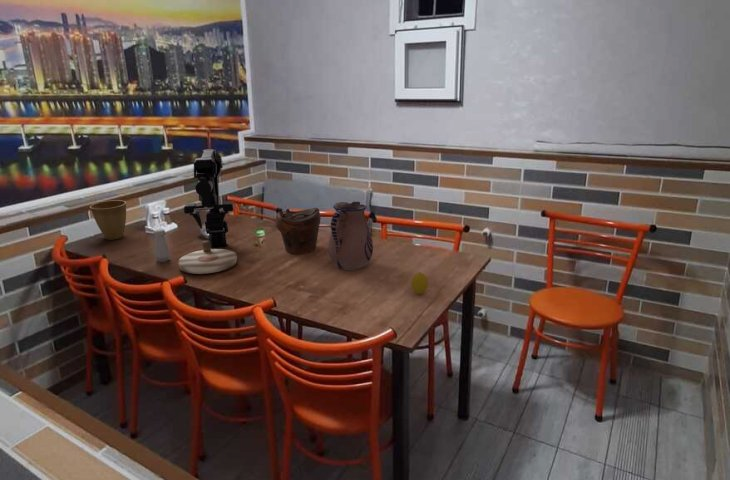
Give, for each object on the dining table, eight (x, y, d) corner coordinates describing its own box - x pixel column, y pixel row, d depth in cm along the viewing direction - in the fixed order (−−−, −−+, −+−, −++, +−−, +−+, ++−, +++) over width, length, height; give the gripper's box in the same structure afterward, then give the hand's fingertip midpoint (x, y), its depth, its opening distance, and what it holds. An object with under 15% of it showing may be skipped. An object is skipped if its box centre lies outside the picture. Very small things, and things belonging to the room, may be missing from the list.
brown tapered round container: (268, 250, 215) (265, 209, 209) (303, 239, 228) (302, 201, 223) (294, 260, 203) (293, 218, 197) (330, 248, 217) (330, 209, 211)
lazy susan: (179, 257, 205) (177, 243, 203) (234, 250, 211) (233, 237, 209) (178, 276, 185) (176, 261, 183) (239, 269, 191) (238, 254, 189)
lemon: (410, 291, 174) (410, 270, 171) (425, 290, 174) (426, 269, 172) (412, 298, 169) (413, 276, 166) (428, 297, 169) (429, 275, 166)
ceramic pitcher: (378, 261, 202) (378, 200, 194) (361, 281, 183) (360, 215, 175) (338, 256, 207) (337, 197, 199) (317, 275, 188) (314, 211, 180)
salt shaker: (165, 263, 201) (161, 232, 197) (152, 262, 202) (148, 231, 198) (173, 258, 207) (169, 228, 202) (161, 257, 208) (156, 227, 203)
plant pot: (109, 231, 241) (103, 199, 236) (137, 233, 239) (132, 200, 234) (88, 241, 227) (82, 207, 222) (119, 243, 225) (113, 208, 220)
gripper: (233, 184, 206) (236, 220, 211) (185, 186, 203) (190, 223, 208) (231, 190, 196) (234, 228, 201) (181, 193, 193) (186, 231, 198)
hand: (211, 227), depth 202 cm, fingers open, 8 cm apart
